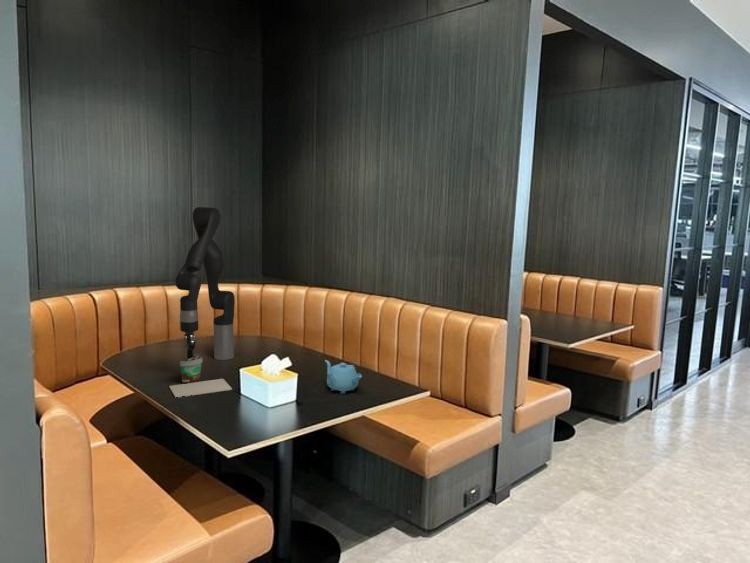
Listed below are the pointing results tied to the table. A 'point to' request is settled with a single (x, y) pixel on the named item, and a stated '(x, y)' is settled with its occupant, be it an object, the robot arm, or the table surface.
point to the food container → (191, 369)
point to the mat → (199, 388)
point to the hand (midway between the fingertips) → (190, 358)
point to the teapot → (342, 377)
